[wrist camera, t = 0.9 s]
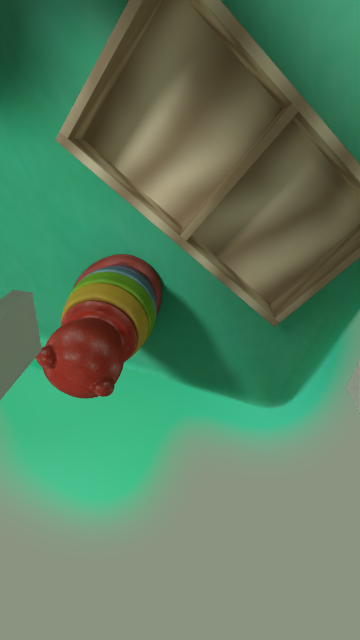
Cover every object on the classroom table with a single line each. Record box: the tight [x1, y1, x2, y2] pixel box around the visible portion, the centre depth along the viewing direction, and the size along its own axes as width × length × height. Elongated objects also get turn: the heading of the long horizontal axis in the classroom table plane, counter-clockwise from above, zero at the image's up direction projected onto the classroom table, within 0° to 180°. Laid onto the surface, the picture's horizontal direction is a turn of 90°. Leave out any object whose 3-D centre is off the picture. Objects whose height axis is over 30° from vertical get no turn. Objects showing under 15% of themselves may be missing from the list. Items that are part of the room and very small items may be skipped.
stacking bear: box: [36, 254, 162, 398], centre depth 31 cm, size 11×10×18 cm
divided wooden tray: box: [56, 0, 360, 327], centre depth 30 cm, size 28×16×4 cm, turn 50°
